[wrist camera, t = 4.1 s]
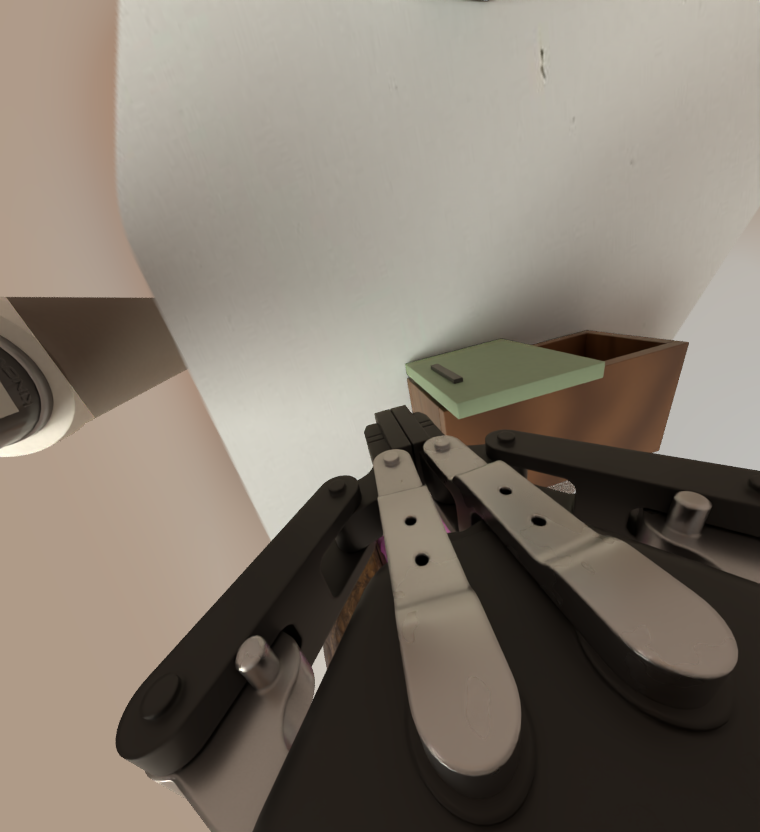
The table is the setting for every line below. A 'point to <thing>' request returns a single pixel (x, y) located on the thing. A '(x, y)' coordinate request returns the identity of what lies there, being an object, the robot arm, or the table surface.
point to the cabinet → (584, 398)
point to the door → (499, 375)
